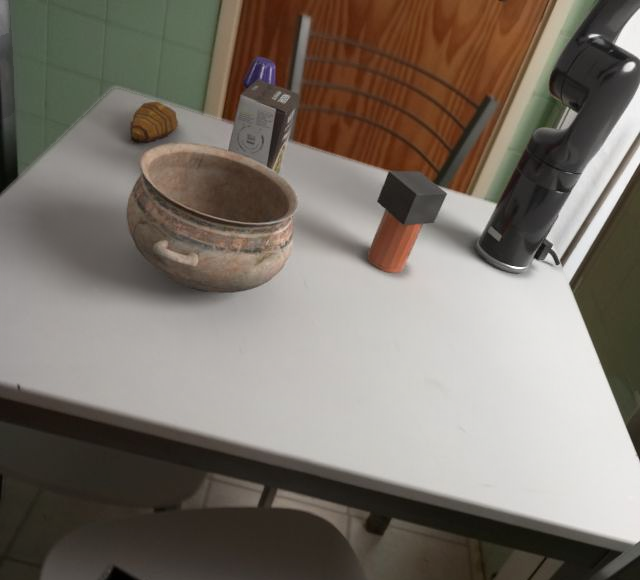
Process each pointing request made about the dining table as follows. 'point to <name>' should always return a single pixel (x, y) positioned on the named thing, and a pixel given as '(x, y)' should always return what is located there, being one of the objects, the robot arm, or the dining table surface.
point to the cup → (392, 244)
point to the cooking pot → (211, 217)
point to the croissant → (152, 122)
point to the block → (411, 197)
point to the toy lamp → (260, 72)
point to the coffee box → (264, 123)
